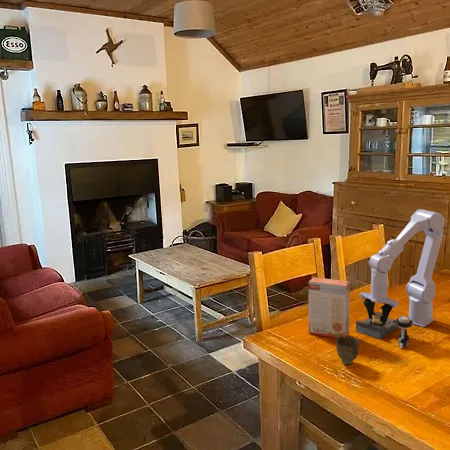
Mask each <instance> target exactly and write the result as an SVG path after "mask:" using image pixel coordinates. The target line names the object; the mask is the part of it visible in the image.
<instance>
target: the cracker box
mask: <svg viewBox="0 0 450 450" xmlns="http://www.w3.org/2000/svg"><path fill="white" fill-rule="evenodd" d="M350 282H351V281H349V280H348V281H347V280H341V279H340V280H339V279H331V278H322V277H315V276H314V277H312V278H311V279H310V280H309V281H308V334H310V335H316V336H317V335H318V336H322V337H328V338H333V339H337V338H338V337H339V338H340V336H343V337H344V338H345V336H347V337H349V336H350V335H349V334H350V299H351V298H350V291H351V290H350V289H351V287H350V285H351V283H350Z"/></svg>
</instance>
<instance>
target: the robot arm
mask: <svg viewBox="0 0 450 450" xmlns="http://www.w3.org/2000/svg"><path fill="white" fill-rule="evenodd" d="M445 223H446V219H445V217H444V216H443V214H442V213H441V212H437V211H430V210H427V209H423V208H420V209H419V208H418V209H417V210H416V211H415V212H414V213H413V214H412V215H411V216H410V221H409V222H408V224H407V225H406V226H405V227H404V228H403V229H402V230H401V232H400V233H399V234H398V236H397V237H395V238H394V239H390V240H388V241H387V242H386V244H385V245H384V246H383V247H382V248H381V249H380V250H379V251H378V252H377V253H375V254H373V255H371V256H370V258H369V260H368V262H367V263H368V264H367V265H368V267H370V272H371V273H370V274H371V276H370V279H371V281H370V292H369V293H368V292H360V293H359V298H360V299H364V301H363V305H364V307H365V309H366V312H367V315H368V318H369V319H372V313H373V312H375V305H376V303H378V304H382V305H381V306H380V309H381V313H382V323H386V322H387V318H389V316H390V313H391V311H392V309H394V308H395V309H396V308H398V307H399V301H397V300H395V299H393V298H390V297H388V275H389V274H388V273H389V271H390V270H391V269H392V267H393V263H394V260H395V259H396V258H397V257H399V255H400V254H401V253H402V252H403V251H404V245H405V244H406V243H407V242H408V241H409V240H410V239H412V238H413V237H414V236H415V235H416V234H417V233H418V232H424V234H425V235H426V236H425V241H424V244H423V248H422V251H421V255H420V259H419V263H418V266H417V271H416V274H415V275H412V276H410V279H409V282H408V283H407V284H406V286H405V292H406V294H407V295H408V299H409V307H408V317H409V318H410V320H412V321H413V323H412V325H416V326H418V327H422V328H425V327H426V326H428V325H429V324H431V323H433V322H434V321H435V318H433V310H434V309H433V307H434V303H433V300H434V299H435V296H436V291H435V289H436V283H435V282H434V280H433V278H432V276H433V273H434V271H435V270H434V269H435V267H436V263H437V262H436V261H437V258H438V256H439V253H440V252H439V251H440V248H441V243H442V239H443V236H444V227H445Z"/></svg>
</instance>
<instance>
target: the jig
mask: <svg viewBox="0 0 450 450" xmlns="http://www.w3.org/2000/svg"><path fill="white" fill-rule="evenodd" d="M398 328H399V329H400V326H398V325H397V322H396V319H393V318H391V317H388V318H387V322H386V323H383V326H375V325H372V319H369V317H367V318H366V319H364V320H359V319H358V320H356V321H355V332H357V333H361V334H364V335H367V336H369V337H373V338H376V339H377V340H378V339H379V340H381V339H383V338H384V337H386V336H387V335H389V334H391V333H392V332H394V331H396V330H397V329H398Z"/></svg>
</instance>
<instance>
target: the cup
mask: <svg viewBox="0 0 450 450" xmlns="http://www.w3.org/2000/svg"><path fill="white" fill-rule="evenodd" d="M360 343H361V342H360V340H359V339H358V338H357V337H356V338H355V337H353V336H352V337H351V336H350V335H348V336H345V338H344V337H343V336H340V338H339V337H338V338H336V339H335V344H336V352H337V355H338V357H339V358H340V361H341V363H342V364H343V365H345V366H351V365H352V364H353V363H354V361H355V360H356V359H357V357H358V355H359V348H360Z"/></svg>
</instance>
